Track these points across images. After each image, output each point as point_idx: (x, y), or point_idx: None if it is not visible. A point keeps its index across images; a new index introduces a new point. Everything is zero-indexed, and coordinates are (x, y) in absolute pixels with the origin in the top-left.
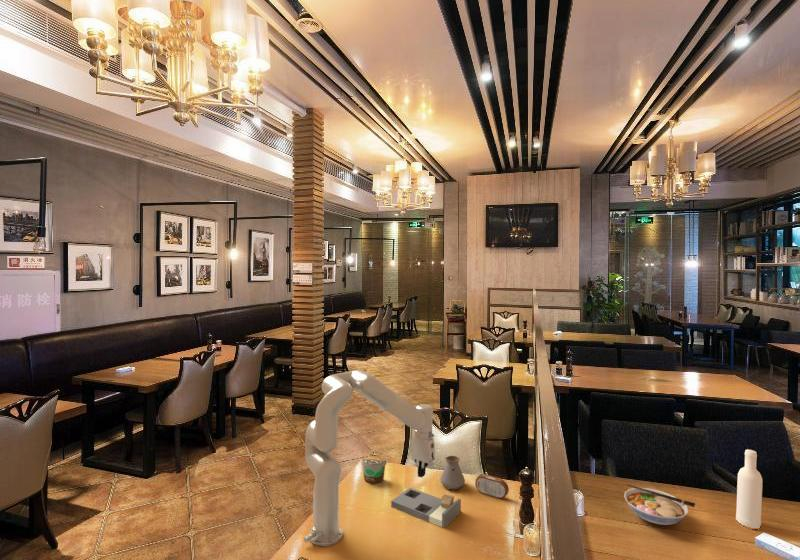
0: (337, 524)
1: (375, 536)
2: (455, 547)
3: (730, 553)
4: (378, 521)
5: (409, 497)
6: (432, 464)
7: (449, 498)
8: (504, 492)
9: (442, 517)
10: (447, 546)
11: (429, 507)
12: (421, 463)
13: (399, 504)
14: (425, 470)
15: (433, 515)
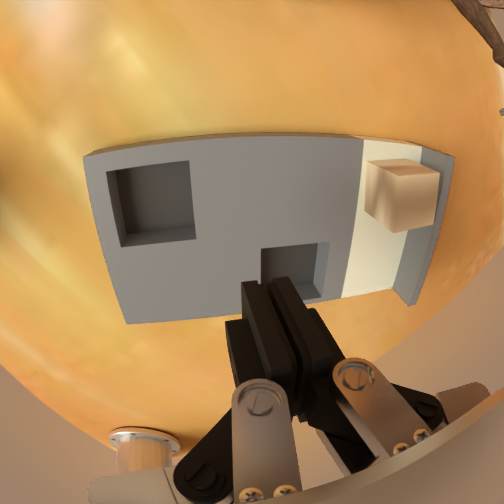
0: (167, 464)
1: (225, 406)
2: (423, 310)
3: None
4: (177, 378)
5: (165, 247)
6: (477, 402)
7: (428, 211)
8: (496, 6)
9: (401, 296)
10: (406, 321)
11: (310, 240)
12: (282, 420)
13: (174, 319)
14: (331, 336)
15: (355, 285)
